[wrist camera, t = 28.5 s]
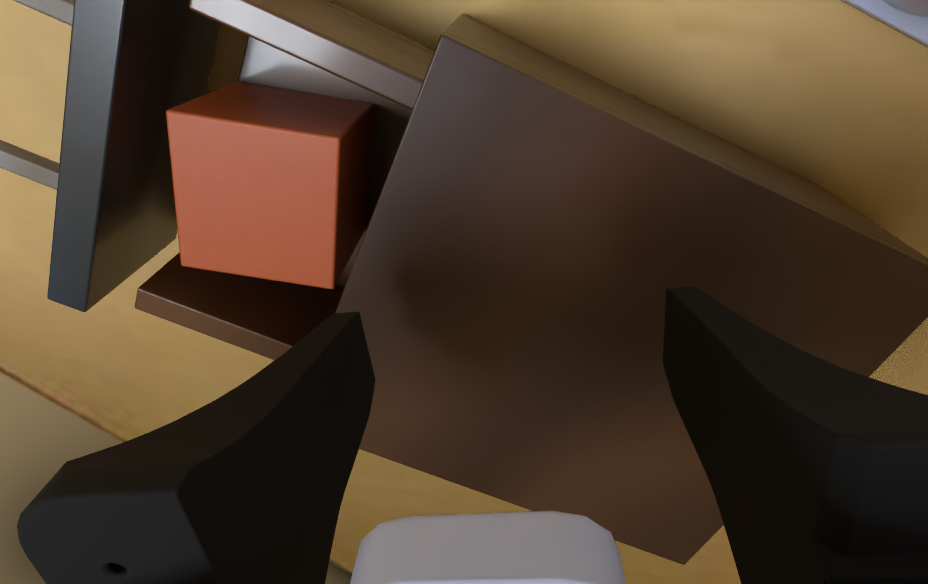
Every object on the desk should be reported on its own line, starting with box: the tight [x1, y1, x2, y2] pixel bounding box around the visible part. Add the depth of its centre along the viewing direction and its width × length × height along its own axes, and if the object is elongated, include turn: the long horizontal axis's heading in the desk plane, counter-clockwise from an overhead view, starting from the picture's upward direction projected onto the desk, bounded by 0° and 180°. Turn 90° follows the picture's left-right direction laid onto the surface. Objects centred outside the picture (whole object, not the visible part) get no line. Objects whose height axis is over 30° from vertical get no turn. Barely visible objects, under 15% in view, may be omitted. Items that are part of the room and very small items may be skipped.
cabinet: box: [335, 14, 928, 565], centre depth 20 cm, size 15×13×8 cm
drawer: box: [0, 0, 435, 360], centre depth 19 cm, size 18×11×6 cm, turn 66°
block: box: [166, 82, 374, 289], centre depth 18 cm, size 5×5×5 cm
